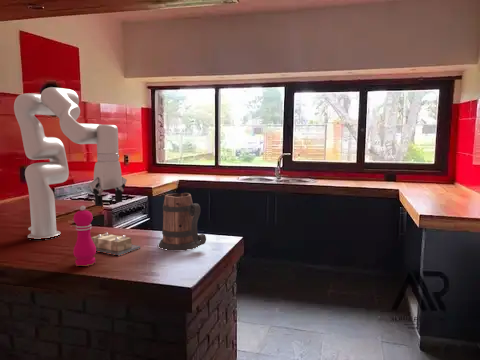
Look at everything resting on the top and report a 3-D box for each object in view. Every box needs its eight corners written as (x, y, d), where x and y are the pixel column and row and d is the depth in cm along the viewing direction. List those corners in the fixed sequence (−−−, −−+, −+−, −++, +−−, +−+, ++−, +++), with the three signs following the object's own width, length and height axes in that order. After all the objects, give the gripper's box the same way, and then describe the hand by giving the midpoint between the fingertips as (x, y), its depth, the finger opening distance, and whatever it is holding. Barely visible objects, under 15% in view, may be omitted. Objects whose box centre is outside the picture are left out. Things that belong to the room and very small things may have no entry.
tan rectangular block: (91, 246, 152) (91, 237, 152) (105, 242, 158) (105, 233, 157) (118, 251, 145) (118, 242, 145) (131, 246, 151) (131, 237, 150)
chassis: (83, 249, 151) (83, 235, 151) (106, 242, 161) (105, 229, 160) (118, 256, 143) (118, 241, 142) (140, 248, 152) (139, 234, 151)
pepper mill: (99, 260, 138) (97, 203, 136) (92, 267, 131) (89, 207, 129) (78, 260, 138) (75, 203, 136) (70, 267, 131) (67, 207, 128)
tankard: (148, 245, 157) (147, 194, 155) (183, 236, 169) (181, 190, 167) (186, 257, 141) (184, 201, 139) (220, 247, 153) (220, 196, 151)
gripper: (118, 156, 157) (118, 199, 159) (81, 159, 142) (83, 206, 144) (132, 157, 153) (133, 201, 156) (96, 160, 138) (97, 208, 141)
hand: (109, 203), depth 150 cm, fingers open, 9 cm apart
